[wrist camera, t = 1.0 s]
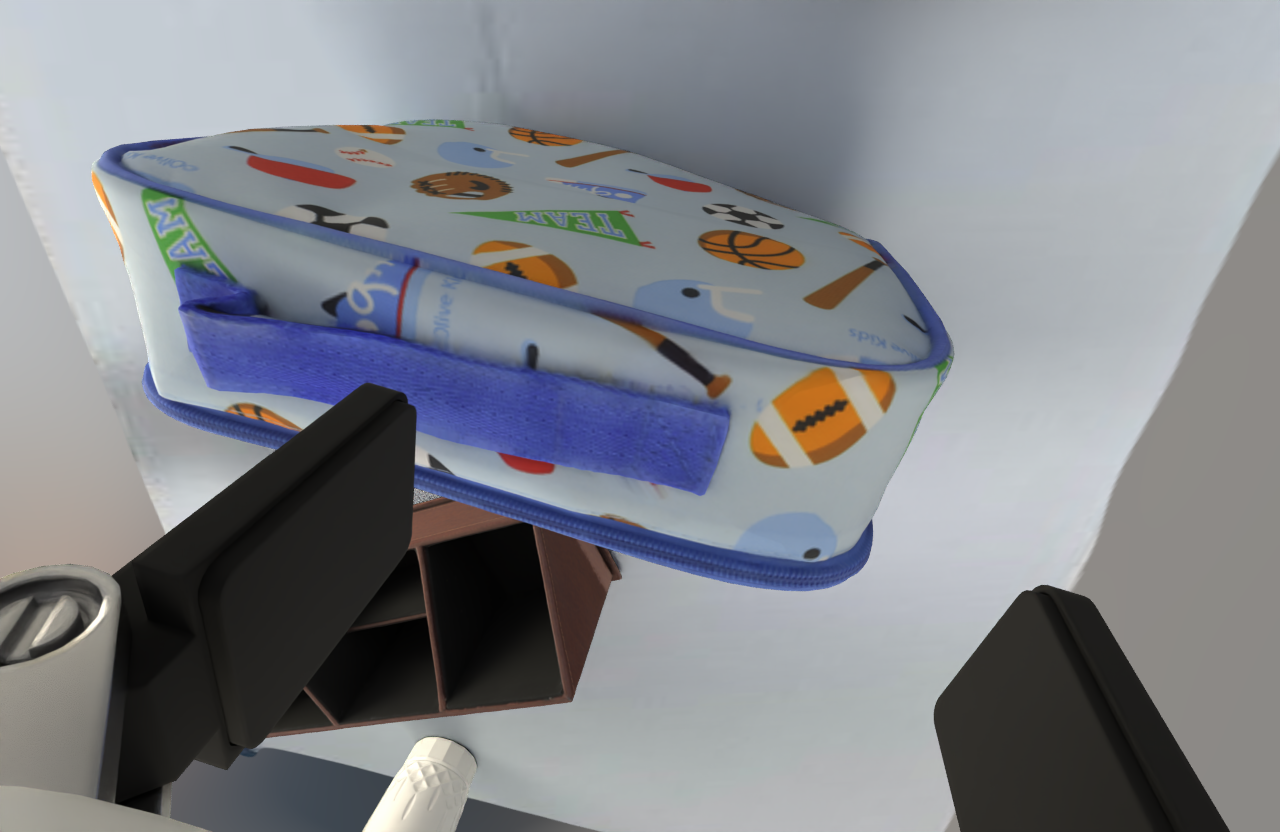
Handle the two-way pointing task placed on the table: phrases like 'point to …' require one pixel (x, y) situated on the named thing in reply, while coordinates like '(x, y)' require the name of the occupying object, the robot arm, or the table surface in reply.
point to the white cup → (426, 790)
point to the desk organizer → (463, 625)
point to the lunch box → (539, 331)
